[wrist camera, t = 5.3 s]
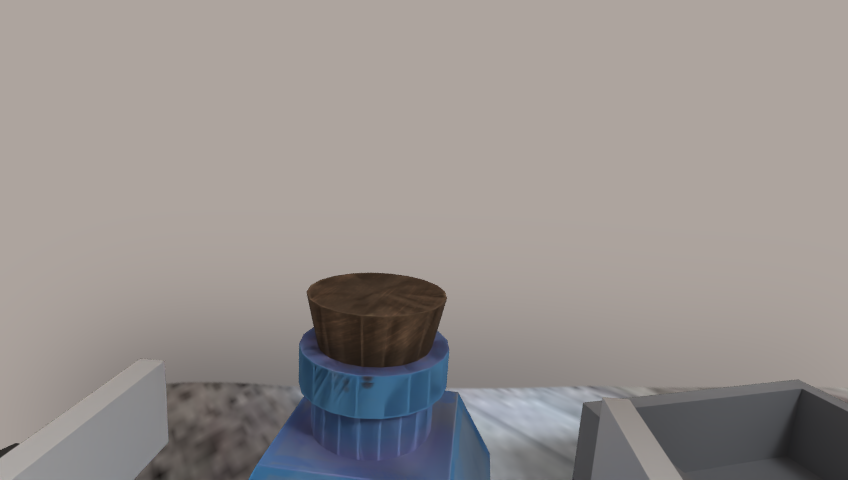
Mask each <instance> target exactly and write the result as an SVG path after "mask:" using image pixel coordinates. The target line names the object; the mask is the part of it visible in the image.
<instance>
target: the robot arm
mask: <svg viewBox="0 0 848 480" xmlns="http://www.w3.org/2000/svg"><path fill="white" fill-rule="evenodd" d="M168 442H169V440H168V419H167V398H166V378H165V361H164V360H152V359H139V360H137V361H136V362H135V363H133V364H132V365H130V366H129V367H128V368H126V369H125V370H124V371H122V372H121V373H119V374H118V375H116V376H115V377H114V378H112V379H111V380H109V381H108V382H106V383H105V384H104V385H102V386H101V387H99V388H98V389H97V390H95V391H94V392H92V393H91V394H90V395H88V396H87V397H85V398H84V399H83V400H81V401H80V402H78V403H77V404H76V405H74V406H73V407H71V408H70V409H68V410H67V411H66V412H64V413H63V414H62V415H60V416H59V417H57V418H56V419H54V420H53V421H52V422H50V423H49V424H47V425H46V426H45V427H43V428H42V429H40V430H39V431H38V432H36V433H35V434H33V435H32V436H30V437H29V438H28V439H26V440H25V441H23V442H22V443H21V444H18V443H15V444H13V445H11V446H8V447H6V448H4V449H2V450H0V480H134V479H135V478H136V476H137V475H138V474H139V473H140V472H141V471H142V470H143V469H144V468H145V467H146V466H147V465H148V464H149V463H150V461H151V460H152V459H153V458H154V457H155V456H156V455H157V454H158V453H159V452H160V451H161V450H162V449H163V447H164V446H165V445H166V444H167V443H168ZM591 480H683V479H682V478H681V476H680V475H679V473H678V472H677V470H676V469H675V467H674V466H673V464H672V463H671V461H670V460H669V458H668V457H667V455H666V454H665V452H664V451H663V449H662V448H661V446H660V445H659V443H658V442H657V440H656V439H655V437H654V436H653V434H652V433H651V431H650V430H649V428H648V427H647V425H646V424H645V422H644V421H643V419H642V418H641V416H640V415H639V413H638V412H637V410H636V409H635V407H634V406H633V404H632V403H631V401H630V400H629V399H618V398H606V397H603V400H602V406H601V413H600V420H599V427H598V434H597V441H596V448H595V455H594V461H593V468H592V475H591Z"/></svg>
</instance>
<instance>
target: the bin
mask: <svg viewBox="0 0 848 480" xmlns="http://www.w3.org/2000/svg"><path fill="white" fill-rule="evenodd" d="M622 399H629V400H630V401H631V403H632V404H633V406H634V407H635V409H636V410H637V412H638V413H639V415H640V416H641V418H642V419H643V421H644V422H645V424H646V425H647V427H648V428H649V430H650V431H651V433H652V434H653V436H654V437H655V439H656V440H657V442H658V443H659V445H660V446H661V448H662V449H663V451H664V452H665V454H666V455H667V457H668V458H669V460H670V461H671V463H672V464H673V466H674V467H675V469H676V470H677V472H678V473H679V475H680V476H681V478H682V479H683V480H848V403H846V402H844V401H841V400H839V399H837V398H835V397H833V396H831V395H829V394H827V393H825V392H823V391H821V390H819V389H817V388H815V387H813V386H810V385H808V384H806V383H804V382H802V381H800V380H789V381H781V382H771V383H761V384H752V385H743V386H734V387H724V388H715V389H706V390H696V391H687V392H678V393H669V394H659V395H650V396H641V397H632V398H622ZM601 406H602V401H594V402H585V403H583V408H582V415H581V422H580V429H579V437H578V444H577V451H576V458H575V466H574V473H573V480H591V475H592V468H593V461H594V455H595V448H596V441H597V434H598V427H599V420H600V413H601Z"/></svg>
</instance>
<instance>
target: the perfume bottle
mask: <svg viewBox="0 0 848 480" xmlns="http://www.w3.org/2000/svg"><path fill="white" fill-rule="evenodd" d="M307 296H308V301H309V306H310V310H311V315H312V320H313V324H314V327H313V328H312V329H310V330H309V331H308V332H306V333H305V334H304V335H303V337H302V339H301V341H300V343H299V384H300V388H301V392H302V394H303V395H304V397H303V398H302V400H301V401H300V403H299V404H298V406H297V407H296V409H295V410H294V411H293V413H292V414H291V416H290V417H289V419H288V420H287V422H286V423H285V424H284V426H283V427H282V429H281V430H280V432H279V433H278V435H277V436H276V437H275V439H274V440H273V442H272V443H271V445H270V446H269V448H268V449H267V451H266V452H265V453H264V455H263V456H262V458H261V459H260V461H259V462H258V464H257V465H256V467H255V469H254V471H253V472H252V474H251V476H250V478H249V480H490V453H489V451H488V449H487V447H486V445H485V443H484V441H483V440H482V438H481V436H480V434H479V432H478V430H477V428H476V426H475V424H474V422H473V420H472V418H471V416H470V414H469V413H468V411H467V409H466V407H465V405H464V403H463V401H462V399H461V397H460V395H459V393H458V392H452V391H445V389H446V383H447V371H448V358H449V347H448V342H447V340H446V339H445V338H444V337H443V336H442V335H441V334H440V333H439V332H438V331H437V329H438V326H439V323H440V319H441V316H442V312H443V310H444V306H445V303H446V299H447V297H446V293H445V291H443V290H442V289H441V288H440V287H438V286H437V285H435V284H432V283H430V282H428V281H425V280H422V279H417V278H413V277H409V276H402V275H395V274H385V273H355V274H354V273H353V274H345V275H338V276H333V277H329V278H326V279H322V280H320V281H318V282H316V283H314V284H312V285H311V286H310V287H309V289H308V290H307Z"/></svg>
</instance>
